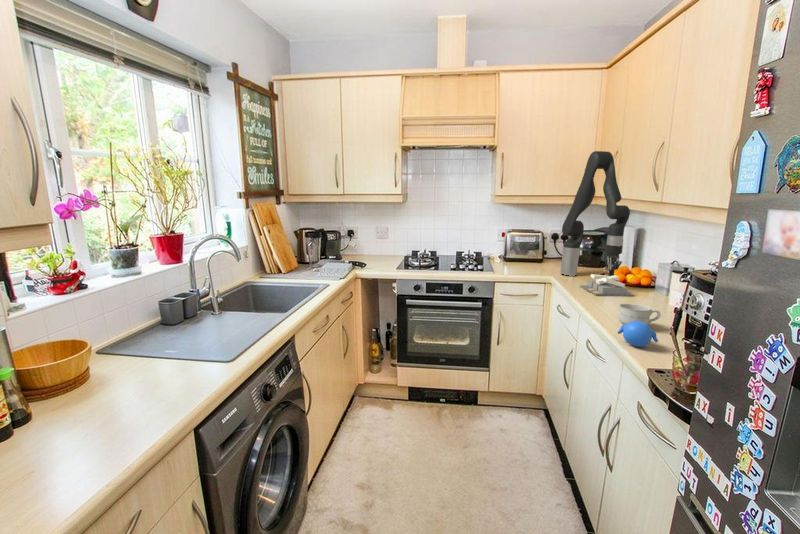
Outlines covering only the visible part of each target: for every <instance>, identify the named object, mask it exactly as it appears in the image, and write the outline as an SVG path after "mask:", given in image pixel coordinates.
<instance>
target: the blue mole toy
mask: <svg viewBox="0 0 800 534" xmlns="http://www.w3.org/2000/svg"><path fill="white" fill-rule="evenodd" d="M617 334H618V335H620V334H622V337H623V338H624V341H626V343H627V344H629V345H631V346H633V347H637V348H639V347H640V348H641V347H646V346H647V345H649V344H651V342H652V340H653V341H654V342H655V343H657V342H658V341H659V339H658V337H657V332H656V331H655V330H653V329H652V328H651V327H650V326H649V325H648V324H645V323H643V322H640V321H633V322H630V323H628V324H627V325H623V324H622V325H621V326H620V327H619V330H617ZM658 343H659V342H658Z"/></svg>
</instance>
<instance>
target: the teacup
mask: <svg viewBox="0 0 800 534" xmlns="http://www.w3.org/2000/svg"><path fill="white" fill-rule="evenodd" d="M653 313H656V314H657V315H656V316H654V318H650V317H651V316H652V314H653ZM661 316H662V315H661V312H660V311H659V310H658V309H656V308H655V309H652V308H651V307H649V306H646V305H641V304H635V303H619V305H618V318H617V319H618V321H619V323H621V324H622V326H623V325H627V324H628V323H630V322H633V321H640V322H643V323H645V324H647V325H648V324H651V323H652V322H654V321H655V322H656V321H658V320H659V319H660V318H661Z"/></svg>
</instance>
